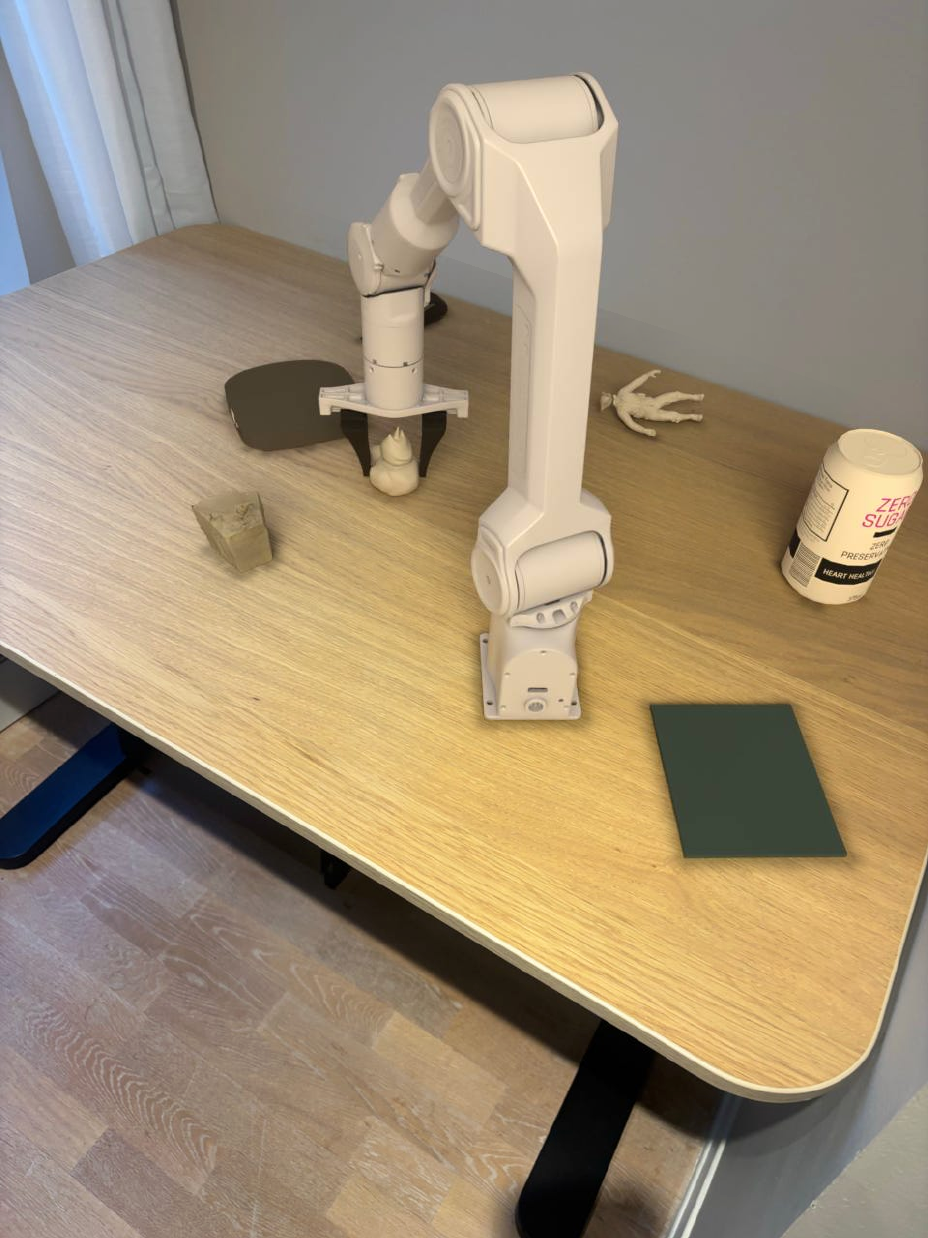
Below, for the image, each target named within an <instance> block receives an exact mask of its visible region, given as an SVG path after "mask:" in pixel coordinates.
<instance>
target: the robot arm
mask: <svg viewBox="0 0 928 1238" xmlns="http://www.w3.org/2000/svg"><path fill="white" fill-rule="evenodd" d="M618 136H619V122H618V120H617V117H616V116H615V114H614V111H613V109H612V107H611V105H610V103H609V100H608V99H607V97H606V95H605V92H604V91H603V89H602V87H601V85H600V84H599V82H598V81H597V80H596V78H595V77H593V76H592V75H591V74H590V73H587V72H585V71H573V72H569V73H568V74H566V75H561V76H559V75H558V76H550V77H540V78H529V79H518V80H507V81H496V82H495V81H494V82H485V83H484V82H483V83H475V84H467V85H465V84H464V83H461V82H460V83H457V82H454V83H452V82H451V83H447V84H446V85H445V86H443V87H442V88H441V90H440V91H439V93H438V95H437V97H436V100H435V102H434V103H433V106H432V107H431V109H430V110H429V119H428V149H429V150H428V151H429V156H428V158H427V160H426V161H425V164H424V166H423V168H422V170H421V172H420V173H418V172H411V173H410V172H409V173H402V174H400V175H399V177H398V178H397V179H396V182H395V183H396V185H395V186H394V188H393V190H392V191H391V192H390V194H389V196H388V197H387V199H386V200H385V202H384V203H383V204H382V206H381V208H380V209H379V211H378V212H377V214H376V215H375V217H374V219H373V220H372V221H371V222H364V221H353V222H351V223H350V226H349V229H348V232H347V237H346V251H347V260H348V266H349V269H350V274H351V277H352V280H353V283H354V285H355V287H356V288H357V291H358V292H359V297H360V299H359V301H360V316H361V317H360V318H361V320H360V321H361V337H362V340H361V341H362V362H363V363H362V364H363V366H362V367H363V382H358V383H355V384H351V385H345V386H339V387H328V388H320V393H319V408H320V415H330V414H331V413H332V412H340V414H341V422H340V427H341V430H342V433H343V434H344V435H345V437H344V438H346V439H347V441H348V442H349V444H350V445H351V447H352V449H353V450H354V452H355V455H356V456H357V458H358V461H359V463H360V466H361V470H362V475H363V477H365V478H366V477H367V478H370V469H371V467H372V456H371V452H370V450H371V446H370V439H369V415H373V416H374V415H375V416H378V417H384V418H391V419H398V418H406V417H412V416H417V415H421V441H420V450H419V465H420V475H419V479H420V478H424V479H425V478H427V473H428V468H429V465H430V461H431V459H432V456H433V454H434V453H435V450H436V448H437V446H438V444H439V443H440V441H441V440H443V437H445V433H446V431H447V427H448V422H447V421H448V419H447V418H448V415H456V417H457V418H460V419H461V418H463V419H464V418H465V419H467V418H468V417H469V390H467V389H464V390H463V389H454V388H448V387H445V386H444V387H443V386H438V385H433V384H429V383H425V382H424V375H425V374H424V363H425V359H424V358H425V356H424V355H425V353H424V352H425V350H424V349H425V347H424V346H425V326H424V307H426V306H427V305H429V302H430V291H432V286H433V284H434V283H435V280H436V277H437V271H438V270H437V269H438V263H437V260H436V259H437V258H438V257H439V255H440V254H441V253H442V252H443V251H444V250H445V249H446V248H447V247H448V246H449V244H450V243H451V242H452V241H453V240H454V239H455V237H456V235H457V233H458V231H459V229H460V224H461V219H462V220H463V222H464V223H465V225H466V226H467V227H468V229H469V231H470V232H471V233H472V235H473V236H474V237H475V239H476V240H477V242H478V243H479V245H480V246H481V247H482V248H485V249H488V250H490V251H492V252H496V253H498V254H501V255H504V256H506V257H507V259H508V260H509V262H510V264H511V266H512V271H513V278H512V279H513V280H512V281H513V282H512V283H513V284H512V287H513V288H512V315H511V316H512V319H511V351H510V352H511V353H510V354H511V355H510V356H511V357H510V364H511V365H510V393H509V395H510V398H509V431H508V433H509V435H508V465H507V468H508V471H507V487H506V488H505V489H504V490H503V492H502V493H501V494H500V495H499V496H498V497H497V498H496V499H495V500H494V501H493V502H491V504H490V505H489V506H488V507H487V508H486V510H484V512H483V513H482V514H481V515H480V516H479V518H478V528H477V537H476V541H475V543H474V546H473V550H472V552H471V557H470V571H471V576H472V581H473V584H474V587H475V590H476V593H477V595H478V597H479V599H480V601H481V603H482V604H483V606H484V607H485V608H486V609H487V610H488V611H489V612H490V618H489V628H488V629H489V631H488V632H483V633H480V635H479V654H480V671H481V686H482V703H483V716H484V718H485V719H487V720H493V721H497V720H498V721H499V720H500V721H501V720H504V721H505V720H506V721H507V720H509V721H510V720H511V721H512V720H513V721H514V720H516V721H521V720H522V721H524V720H526V721H530V720H532V721H533V720H534V721H535V720H536V721H537V720H539V721H540V720H541V721H543V720H544V721H545V720H546V721H547V720H549V721H550V720H551V721H557V720H559V721H561V720H564V721H565V720H566V721H567V720H568V721H576V720H579V719H580V718H581V716H582V708H581V703H580V696H579V690H578V684H577V678H578V675H579V663H578V657H577V651H576V649H577V648H576V641H577V637H578V636H577V635H578V631H579V625H580V620H581V616H582V611H583V607H584V606H585V605H586V604H587V603H589V602H591V601H592V598H593V594H594V589H598V588H599V589H600V588H602V587H604V586H606V585H607V584H608V583H609V582H610V581H611V578H612V576H613V572H614V567H615V548H614V544H613V541H612V534H611V533H612V531H611V526H612V525H611V524H612V523H611V522H612V514H611V513H610V512H609V509H607V507H606V506H605V504H604V503H603V501H602V500H601V499H599V497H597V496H596V495H595V494H594V493H592V492H591V491H590V490H588V489H586V488H584V487H582V484H583V475H584V474H583V472H584V463H585V462H584V461H585V451H586V439H587V429H588V416H589V406H590V394H591V383H592V374H593V373H592V372H593V360H594V349H595V339H596V337H595V336H596V325H597V316H598V315H597V314H598V304H599V295H600V281H601V269H602V260H603V258H602V257H603V245H604V244H603V242H604V231H605V230H606V228H608V226H609V225H610V221H611V214H612V213H611V211H612V200H613V189H614V180H615V179H614V178H615V168H616V159H617V158H616V157H617V146H618V138H619V137H618Z"/></svg>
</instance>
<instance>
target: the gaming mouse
mask: <svg viewBox="0 0 928 1238" xmlns="http://www.w3.org/2000/svg"><path fill="white" fill-rule="evenodd" d="M447 312H448V304H447V303H446V301H445V300H444V299H443V298H441V297H440V295H438V294H437V293H435V292H433V291H432V290H430V302H429V305H427V306H426V307H424V327H425V326H427V325H430V324H433V323H435V322H437V321H439V320H440V319H441V318H443V317H444V316H445V315H446V314H447ZM360 341H362V336H361V337H360Z"/></svg>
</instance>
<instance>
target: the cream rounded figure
mask: <svg viewBox="0 0 928 1238" xmlns="http://www.w3.org/2000/svg"><path fill="white" fill-rule="evenodd" d="M412 447H413V446H412V444H411V440H410V439H409V437H407V435H406V433H405V432H404V431H403V429H400V427H399V426H397V428H396V429H395V431H394V433H390V434H388V435H386V436H385V437H384V438H383V439H382V441H380V443H378V444H374V445H373V446H372V447H370V453H371V461H372V465H371V469H370V477H369V480H370V483H371V484H372V486H374V487H375V488H376V489H377V490H379V491H380V492H382V493H385V494H386V495H388V496H390V497H401V496H405V495H407V494H409V493H411V492H413V491H415V490H416V489H417V488H418V487H419V484H420V483H419V482H420V461H419V459H418V458H417V457H416V456H414V455H413V448H412Z"/></svg>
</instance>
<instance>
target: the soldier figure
mask: <svg viewBox="0 0 928 1238" xmlns="http://www.w3.org/2000/svg"><path fill="white" fill-rule="evenodd" d="M660 373H661V370H660V369H653V370H650V371H648V372H645V373H643V374H642V375H640V376H639V377H638V378H635V379H634V380H632V381H631V382H630V383H628V384H627V385H625V386H623V387H622V388H620V389H619V390H618V392H617V395H616V394H611V393H606V392H605V391H601V396H600V399H599V400H600V401H599V403H600V412H601V413H602V412H603V411H604V410H605V409H607V408H609V407H610V405H611V404H612V405H613V406H614V407H615V408H614V409H615V410H616V413H617V416H618V418H620V420H621V421H623V423H624V424H625V425H626V426H627V427H628V428H629V429H631V430H633V431H635V432H637V433H639V434H642V435H643V434H644V435H646V436H649V437H655V436H656V435H657V431H656V429H653V428H645V427H644V426H642V425H641V424H638V422H636V421H634V420H633V418H636V419H643V420H645V421H648V420H649V421H653V422H671V423H676V424H678V423H680V422H682V421H687V420H691V421H695V422H700V421H702V419H703V414H700V413H698V414H697V413H679V412H678V411H675V410H664V409H661V408H663V407H665V406H667V405H670V404H672V403H676V402H680V401H687V400H689V401H692V402H702V401H703V399H704V397H705V393H702V392H701V393H697V394H696V393H694V394H691V393H684V392H680V391H678V390H675V391H672V392H671V391H668V392H665V393H663V394H660V395H658V396H655V397H652V396H646V394H645V393H643V392H637V391H636V392H635V393H634V390H636V389H638V388H640V387H641V386H642V385H643V384H644V383H645V382H647V380H649V378H650V377H651V378H655V379H656V378H657V376H655V374H660ZM631 416H633V418H632V417H631Z"/></svg>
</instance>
